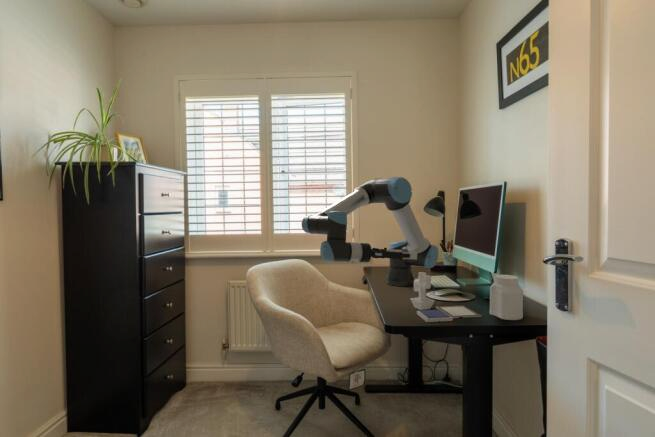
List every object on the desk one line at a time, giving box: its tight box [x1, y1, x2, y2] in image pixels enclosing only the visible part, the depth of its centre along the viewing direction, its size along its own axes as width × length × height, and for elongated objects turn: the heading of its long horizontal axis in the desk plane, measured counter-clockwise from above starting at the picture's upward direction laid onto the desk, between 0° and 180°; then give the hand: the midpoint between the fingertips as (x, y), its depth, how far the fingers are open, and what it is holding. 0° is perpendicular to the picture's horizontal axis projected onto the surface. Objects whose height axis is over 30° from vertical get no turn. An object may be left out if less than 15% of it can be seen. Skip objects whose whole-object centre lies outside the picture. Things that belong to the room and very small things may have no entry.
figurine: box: [409, 271, 436, 311], centre depth 148 cm, size 7×9×15 cm
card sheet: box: [435, 304, 483, 319], centre depth 143 cm, size 14×12×1 cm
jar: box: [489, 274, 524, 321], centre depth 137 cm, size 12×10×15 cm
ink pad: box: [416, 309, 454, 323], centre depth 136 cm, size 10×10×2 cm
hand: (408, 254), depth 146 cm, fingers open, 13 cm apart
